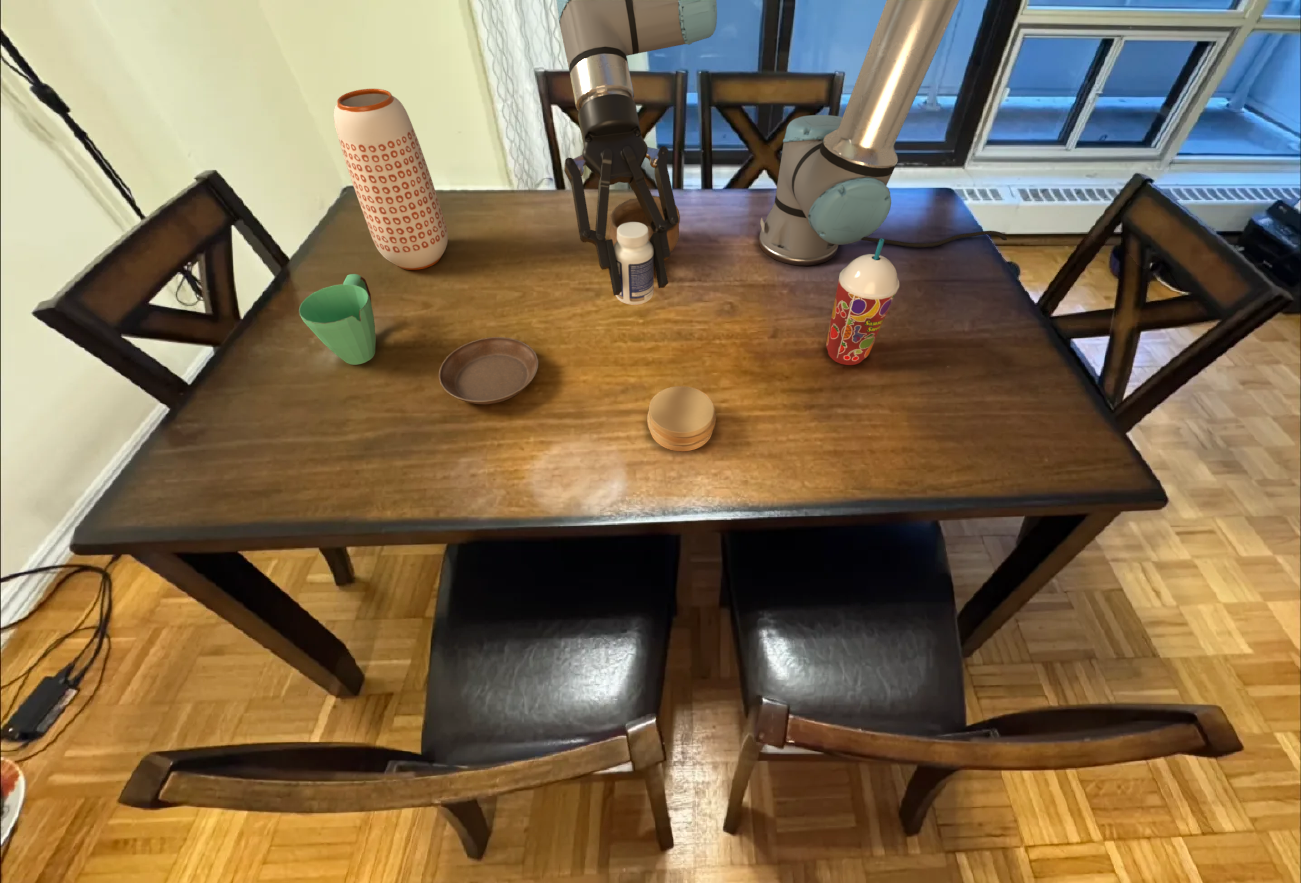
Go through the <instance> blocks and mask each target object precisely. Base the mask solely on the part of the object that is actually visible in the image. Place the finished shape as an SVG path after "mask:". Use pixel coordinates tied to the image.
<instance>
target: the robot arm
mask: <svg viewBox="0 0 1301 883" xmlns="http://www.w3.org/2000/svg"><path fill="white" fill-rule="evenodd" d="M555 1H556V7H557V9H556V10H557V14H558V23H559V30H560V34H561V38H562V43H563V48H564V53H565V57H566V62H567V63H566V64H567V67H568V71H569V76H570V82H571V88H572V92H573V97H574V104H575V108H576V110H577V111H578V112H577V119H578V124H579V130H580V134H581V135H580V136H581V140H582V145H583V148H582V152H581V154H580V155H578V156H576V157H575V158H573V157H567V158H566V159H565V160H564V167H563V168H564V169H563V171H564V174H565V175H566V177H567V179H568V181H569V183H570V185H571V191H572V198H573V203H574V210H575V216H576V223H577V228H578V236H579V239H580V242H582V243H589V244H592V245H594V246H595V248H596V253H597V258H598V264H599V268H600V269H601V270H602V271H603V270H608V273H609V278H610V283H611V288H612V294H613V296H615V297H616V295H619V294H620V293H621V291H622V288H621V282H620V277H619V272H618V267H617V262H616V256H615V251H614V246H613V241H612V239H610V238H609V239H607V238H606V237H607V226H608V225H607V223H608V211H609V200H610V199H609V198H610V188H611V187H610V186H612V185H615V184H619V183H621V184H622V183H623V184H628V186H629V187H630V189H631V191H633V193H634V195H635V197H636V198H637V199H638V201H639V203H640V206H641V208H642V210H643V212H644V214H645V216H646V218H647V220H648V222H649V224H650V227H651V229H652V231H653V234H652V236H651V237H650V239H649V240H650V242H651V244H652V245H653V249H654V273H655V276H656V282H657V287H658V289H663V288H665V287H667V285H668V284H669V280H668V274H667V268H666V262H665V261H667V260H668V259H669V258H670V257H671V252H670V249H669V244H668V238H667V232H668V231H670V230H673V229H674V227H675V226H676V225H677V223H678V221H679V219H678V214H677V209H676V206H677V205H676V201H675V197H674V196H675V195H674V191H673V187H672V183H671V178H670V177H671V176H670V173H669V168H668V159H669V149H668V148H667V147H666V146H665V145H664V146H663V145H662V146H661V147H659V148H655V147H651V146H648V144H647V143H646V141H645V140H644V138H643V136H642V130H641V125H640V121H639V120H640V119H639V115H638V109H637V104H636V102H635V100H634V98H635V93H634V88H633V82H632V78H631V72H630V68H629V61H628V57H627V56H632V55H638V54H643V53H647V52H651V51H652V52H653V51H658V50H662V49H669V48H672V47H673V48H674V47H679V46H683V45H688V46H690V45H692V44H693V43H697V42H699V41H702V40H705V39H709V38H711V37H712V36H713V35H714V34H715V31H716V29H717V24H718V4H717V0H555ZM959 2H960V0H886V1H885V4H884V6H883V9H882V12H881V14H880V18H879V20H878V22H877V25H876V28H875V30H874V33H873V36H872V38H871V41H870V44H869V46H868V49H867V52H866V53H865V54H866V55H865V57H864V58H863V59H864V60H863V62H862V65H861V67H860V70H859V73H858V75H857V78H856V79H855V80H856V81H855V83H854V85H853V88H852V91H851V94H850V97H849V99H848V102H847V105H846V107H845V110H844V112H843V115H842V116H838V115H830V114H812V115H803V116H799V117H796V118H794V119H792V120H791V121H790V122H789V123H788V124H787V126H786V130H785V134H784V138H783V140H782V143H783V145H782V151H781V156H780V163H779V165H780V166H779V171H778V176H777V184H776V188H775V189H776V190H775V196H774V202H773V205H772V206H771V208H770V211H769V213H768V214H767V216H766V219H765V221H764V219H763V217H762V216H761V217H760V223H759V224H760V226H761V228H760V231H759V238H758V245H759V248H760V249H761V251H762V252H763V253H764V254H765V255H766V256H768V257H770V258H772V259H773V260H776V261H778V262H780V263H783V264H788V265H793V266H814V265H819V264H824V263H825V262H828V261H830V260H831V259H832V258H833V257H835V256H836V254H837V252H838V248H839V245H842V246H843V245H850V244H854V243H857V242H860V241H864V242H871V243H879V240H880V239H881V238H879V237H870V236H871V235H872V234H873V233H874V232H876V231H877V230H878V229H879V228H880V227H881V226H882V225H883V224H884V222H885V221H886V219H887V218H888V215H889V214H890V211H891V207H892V197H891V191H890V188H889V187H888V184H889V181H890V179H891V177H892V175H893V173H894V170H895V168H896V166H897V164H898V162H899V158H898V154H897V151H896V149H895V144H896V141H897V139H898V137H899V135H900V133H901V130H902V128H903V126H904V124H905V122H906V119H907V117H908V115H909V113H910V110H911V108H912V106H913V105H914V102H915V100H916V97H917V95H918V93H919V91H920V89H921V86H922V84H923V82H924V80H925V78H926V76H927V73H928V71H929V68H930V66H931V65H932V62H933V60H934V58H935V55H936V54H937V51H938V48H939V47H940V44H941V42H942V40H943V38H944V36H945V33H946V32H947V29H948V27H949V25H950V22H951V20H952V18H953V16H954V14H955V11H956V9H957V7H958V5H959ZM645 159H647V160H648V161H649V165H650V167H651V168H653V169H654V170H653V171H654V179H655V183H656V188H657V192H658V196H659V197H660V202H661V207H662V211H663V216H664V220H665V221H664V220H663V218H662V216H661V213H660V211H659V209H658V207H657V205H656V203H655V201H654V199H653V197H652V196H653V194H652V193H651V190H650V188H649V185H648V184H647V182H646V178H645V175H644V173H643V171H642V166H643V163H644V162H645ZM584 166H586V168H588V170H590V171H591V172H592V174H594V176H595V177H596V178H597V179H598V186H597V187H598V188H597V201H596V202H597V204H596V206H597V207H596V217H595V229H591V226H590V225H591V224H590V218H589V213H588V208H587V207H588V206H587V200H586V195H585V194H586V193H585V188H584V182H583V176H584V172H585V169H584ZM986 235H987V236H988V235H993V236H996V237H998V238H1000V239H1001V240H1002V241H1008V240H1007V237H1006V235H1005V234H1003V233H1002V232H1000V231H997V230H982V231H975V232H968V233H959V234H956V235H952V236H950V237H947V238H945V239H942V240H938V241H933V242H907V241H900V240H892V239H886V238H883V239H884V243H883V244H887V245H888V244H889V245H893V246H894V245H895V246H900V247H901V246H902V247H909V248H930V247H937V246H940V245H944V244H946V243H950V242H952V241H955V240H959V239H963V238H972V237H979V236H986Z"/></svg>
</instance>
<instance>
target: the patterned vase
mask: <svg viewBox="0 0 1301 883" xmlns="http://www.w3.org/2000/svg"><path fill="white" fill-rule="evenodd" d="M336 103H337V104H336V105H335V107H334V109H333V123H334V127H335V130H336V131H335V132H336V135H337V138H338V142H339V145H340V148H341V152H342V156H343V159H344V161H345V165H346V167H347V170H348V174H349V177H350V181H351V183H352V187H353V189H354V192H355V195H356V198H357V200H358V203H359V206H360V208H361V211H362V214H363V217H364V220H365V222H366V225H367V229H368V230H369V233H370V237H371V239H372V241H373V243H374V246H375V247H376V249H377V251H378V252H379V253H380V255H381V256H382V257H383V258H384V259H385V260H387V261H388V262H390V263H392V265H395V266H397V267H398V268H400V269H402V270H407V271H420V270H424V269H427V268H430V267H432V266H434V265H436V264H437V263H438V262H439V261H440V260H441V258H443V254H444V253H445V251H446V248H447V247H448V242H449V232H448V226H447V223H446V220H445V216H444V214H443V210H442V208H441V203H440V201H439V197H438V195H437V192H436V188H435V185H434V182H433V179H432V176H431V173H430V170H429V167H428V165H427V162H426V161H427V160H426V159H425V156H424V153H423V150H422V147H421V144H420V142H419V139H418V136H417V134H416V132H415V129H414V126H413V124H412V121H411V119H410V116H409V114H408V112H407V110H406V108H405V106H404V104H403V103H402V102H401V101H400V100H399V99H398V98H397V97H395V96H394V95H392V92H390V91H388V90H386V89H382V88H362V89H355V90H352V91H349V92H345V93H344V94H342V95H340V96H339V97H338V99H337V100H336Z"/></svg>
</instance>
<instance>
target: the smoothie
mask: <svg viewBox="0 0 1301 883" xmlns="http://www.w3.org/2000/svg"><path fill="white" fill-rule="evenodd" d="M879 239H880V240H879V242H877V246H876V250H875V253H866V254H863V255H860V256H858V257H856V258H854V259H853V260H851V261H850V262H849V263H848V264H847V266H846V267H844V268H843V269H842V270H841V271H840V273H839V274H838V276H839V278H838V280H837V285H836V286H837V287H836V290H835V291H836V292H835V297H834V302H833V307H832V311H831V312H832V313H831V317H830V321H829V327H828V332H827V337H826V342H825V343H826V344H825V347H826V350H827V354H828V356H829V357H830V359H831V360H833V361H834V362H836V363H838V364H841V365H846V366H854V365H858V364H860V363H861V362H863V361H864V360H865V359H866V358H867V357H868V356H869V355H870V353H871V351H872V349H873V346H874V344H875V341H876V339H877V337H878V335H879V332H880V330H881V328H882V326H883V324H884V321H885V319H886V317H887V314H888V313H889V310H890V308H891V306H892V304H893V301H894V300H895V297H896V294H897V292H898V290H899V289H900V281H899V279H898V273H897V270H896V267H895V266H894V264H893V263H892V261H890V260H889V259H888V258H887V257H885V256H883V255H881V252H882V250H883V246H884V244H885V243H884V239H885V238H879Z"/></svg>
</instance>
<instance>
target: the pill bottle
mask: <svg viewBox="0 0 1301 883" xmlns="http://www.w3.org/2000/svg"><path fill="white" fill-rule="evenodd" d="M648 238H649V236H648V228H647V226H646V225H644V224H642V223H639V222H628V223H624V224H622V225H620V226H619V227H618V228H617V242H616V243H615V244H614V251H615V256H616V262H617V267H618V272H619V277H620V282H621V288H622V291H621V293H620V294H619V295H615V297H616V299H617V300H618V301H619V302H621V303H623V304H625V305H632V306H639V305H643V304H646V303H648V302H649V301H650V300H651V299H652V298H653V296H654V293H655V266H654V249H653V245H652V244H651V242H650V241H648Z"/></svg>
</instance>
